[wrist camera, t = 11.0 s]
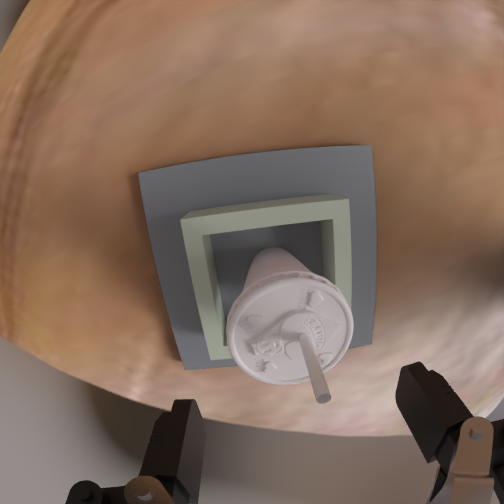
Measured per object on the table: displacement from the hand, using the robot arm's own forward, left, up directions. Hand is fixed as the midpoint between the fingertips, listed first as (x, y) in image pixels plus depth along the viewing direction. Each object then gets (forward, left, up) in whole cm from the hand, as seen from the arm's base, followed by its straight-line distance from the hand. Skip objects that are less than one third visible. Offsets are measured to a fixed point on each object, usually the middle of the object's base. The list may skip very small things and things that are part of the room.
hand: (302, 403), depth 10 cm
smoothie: (0, 0, -14) cm, 14 cm away
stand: (0, 0, -15) cm, 15 cm away
